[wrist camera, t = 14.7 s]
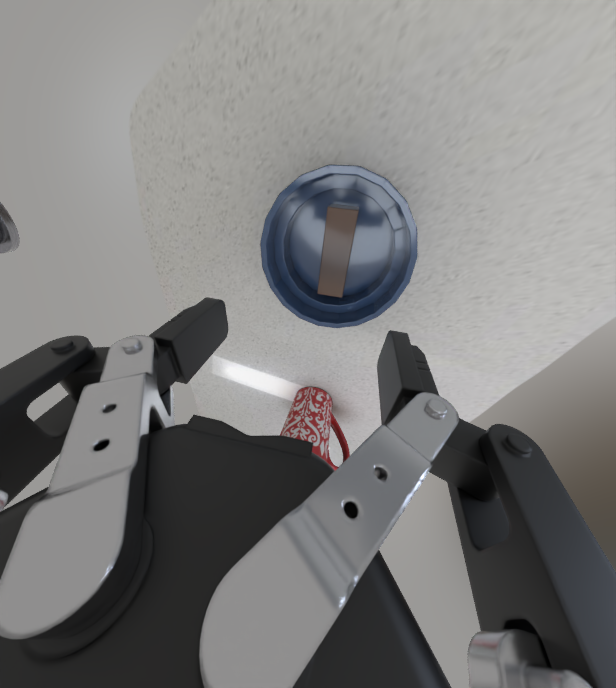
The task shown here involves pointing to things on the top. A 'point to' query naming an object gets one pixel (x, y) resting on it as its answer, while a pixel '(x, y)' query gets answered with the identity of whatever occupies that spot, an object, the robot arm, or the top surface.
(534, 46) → the top surface
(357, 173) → the bowl
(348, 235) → the bar
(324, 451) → the mug
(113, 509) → the robot arm
